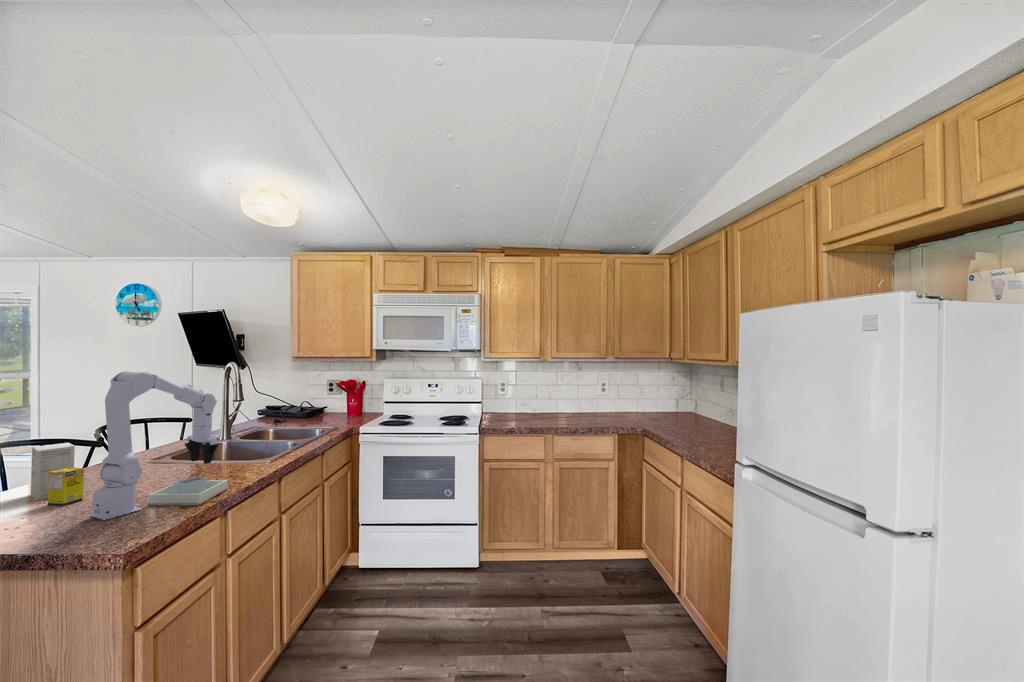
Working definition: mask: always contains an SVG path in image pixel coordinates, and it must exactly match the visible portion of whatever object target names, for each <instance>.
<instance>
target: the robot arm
mask: <svg viewBox="0 0 1024 682" xmlns="http://www.w3.org/2000/svg"><path fill="white" fill-rule="evenodd" d="M152 389H153V390H154V389H155V390H159V391H161V392H164V393H167V394H171V395H173V398H174V399H175V400H176V401H179V402H181V403H184V404H187V405H189V406H190V407H191V408H192V409H193V414H192V415H193V418H192V421H193V422H192V434H191V435H187V436H186V437H187V438H186V439H187V440H186V441H187V442H184V446H185V447H186V449H187V451H188V454H189V458H190V461H191V462H196V461H199V459H200V453H201V452H202V457H203V459H202V460H203V464H204V465H207V464H211V462H212V461H213V458H214V455H215V452H216V451H217V448H218V447H219V443H218V438H215V435H212V427H213V413H214V409H215V407H216V405H217V403H218V400H217V399H216V397H215V396H214V394H212V393H205V391H204V390H202V389H196V388H194V387H193V385H191V384H182V385H178V384H176V383H173V382H171V381H170V380H167V379H165V378H163V377H160V376H158V374H155V373H154V374H152V373H150V372H149V371H148V372H146V371H141V372H138V371H136V372H135V371H134V372H133V371H126V370H125V371H121V372H119V373H117V374H116V375H114V376H113V377H112V378H111V379H110V387H109V389H108V390H107V393H106V396H105V397H104V407H105V424H106V435H107V436H106V437H107V438H106V439H107V450H108V452H107V453H108V455H107V456H106V457H105V458H103V459H102V466H101V468H100V470H99V479H100V480H102V481H103V482H104V484H103V485H104V486H103V487H101V488H97V489H95V490H94V492H93V493H92V494H93V495H92V505H91V507H92V508H91V509H92V511H91V514H90V516H91V517H93V518H96V519H99V520H103V521H107V520H110V519H113V518H117V516H118V517H121V516H125V515H129V514H132V513H135V511H136V512H139V511H142V507H138V506H136V493H137V492H136V488H137V487H136V486H137V483H138V480H139V479H140V478H141V477H142V474H143V467H142V465H141V464H140V462H139V458H138V456H137V455H136V454H135V453H134V451H133V445H132V444H133V443H132V431H131V430H132V427H131V413H130V412H131V411H130V403H131V402H132V401H134V399H136V398H137V397H139V396H141V395H143V394H145V393H147V392H148V391H151V390H152ZM131 512H132V513H131ZM124 514H125V515H124ZM106 519H107V520H106Z"/></svg>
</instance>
